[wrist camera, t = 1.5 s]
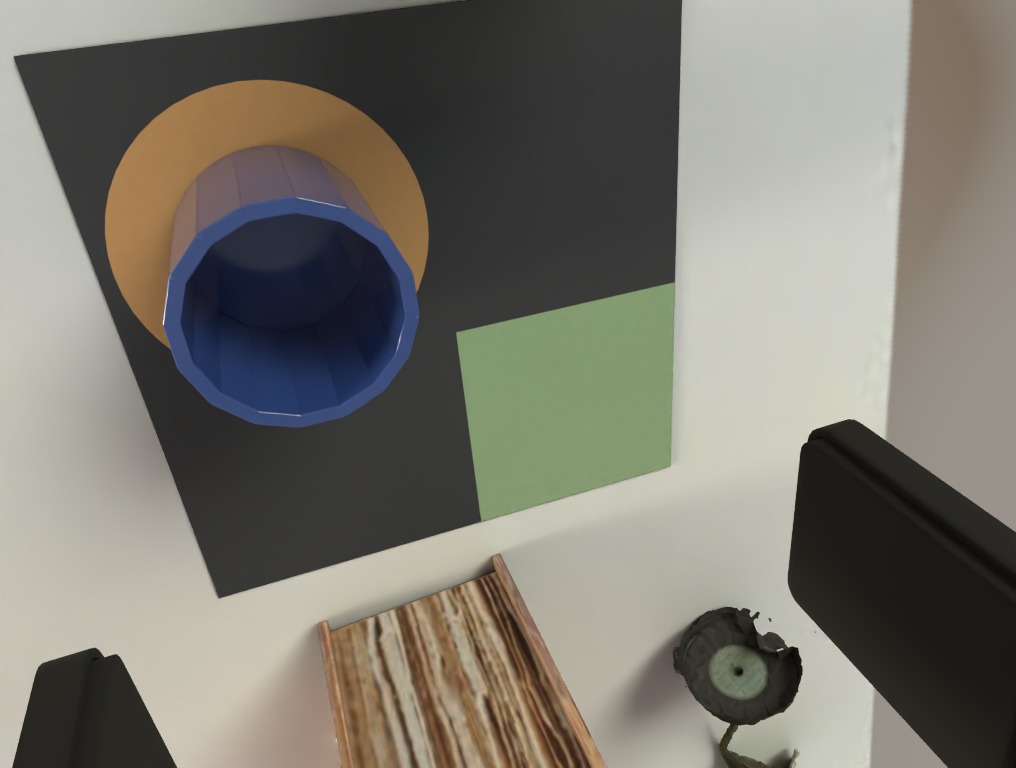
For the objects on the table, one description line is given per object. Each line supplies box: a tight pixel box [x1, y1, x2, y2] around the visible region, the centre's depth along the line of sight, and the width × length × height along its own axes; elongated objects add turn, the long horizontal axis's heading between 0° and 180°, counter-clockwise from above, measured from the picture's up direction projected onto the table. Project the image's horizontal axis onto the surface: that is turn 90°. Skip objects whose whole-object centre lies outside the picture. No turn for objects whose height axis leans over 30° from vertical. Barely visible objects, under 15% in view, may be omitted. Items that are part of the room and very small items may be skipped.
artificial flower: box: [673, 607, 816, 768], centre depth 49 cm, size 9×22×10 cm, turn 16°
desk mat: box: [14, 0, 682, 598], centre depth 31 cm, size 22×22×1 cm
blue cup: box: [163, 145, 420, 428], centre depth 25 cm, size 7×7×7 cm
